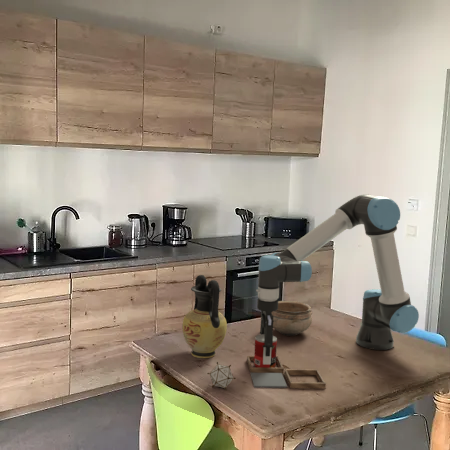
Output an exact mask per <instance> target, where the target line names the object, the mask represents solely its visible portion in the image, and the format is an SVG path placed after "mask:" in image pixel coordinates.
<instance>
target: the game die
mask: <svg viewBox="0 0 450 450" xmlns="http://www.w3.org/2000/svg"><path fill="white" fill-rule="evenodd" d="M231 367H232V364H230V365H224V364H220V363H219V362H218V361H216V365H215V366H214V368H213V369H212V370H211V371H210V372H207V375H209V377H210V380H211V383H212V385H211V387H212V388H214V387H219V388H223V389H224V391H227V389H228V388H227V387H228V385H230V383H231V382H232V381H233V380H236V377H234V376H233V373H232V370H231Z"/></svg>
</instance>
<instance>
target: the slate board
mask: <svg viewBox="0 0 450 450" xmlns="http://www.w3.org/2000/svg"><path fill="white" fill-rule="evenodd" d="M250 378H251V381H252V384H253V388H255V389H256V388H257V389H258V388H263V389H264V388H266V389H267V388H270V389H271V388H272V389H274V388H276V389H277V388H278V389H279V388H280V389H282V388H283V389H284V388H285V389H286V388H288V385H287V383H286V380H285V378H284V374H283V373H250Z"/></svg>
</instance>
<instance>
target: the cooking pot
mask: <svg viewBox="0 0 450 450" xmlns="http://www.w3.org/2000/svg"><path fill="white" fill-rule="evenodd" d="M311 308H312V307H311V306H310V305H309V304H307V303H304V302H300V301H294V300H293V301H292V300H278V310H276V311H273V312H272V315H273V320H274V322H273V330H275V331H277V332H279V333H280V334H281V335H283V336H287V337H294V336H296V335H300V334H302V333H303V332H306V331H307V330H308V329H309V328H310V327H311V325H312V323H313V321H312V320H313V317H312V315H313V310H312V309H311Z"/></svg>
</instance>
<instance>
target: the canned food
mask: <svg viewBox="0 0 450 450" xmlns="http://www.w3.org/2000/svg"><path fill="white" fill-rule="evenodd" d="M263 345H264V334H257V335H255V337H254V352H253V353H254V355H253V356H254V361H253V364H254V367H255V368H276V367H277V364H276V363H277V361H276V356H277V349H278V338H277V336H274V335H273V347H271V364H263V350H264V347H262V346H263Z"/></svg>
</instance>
